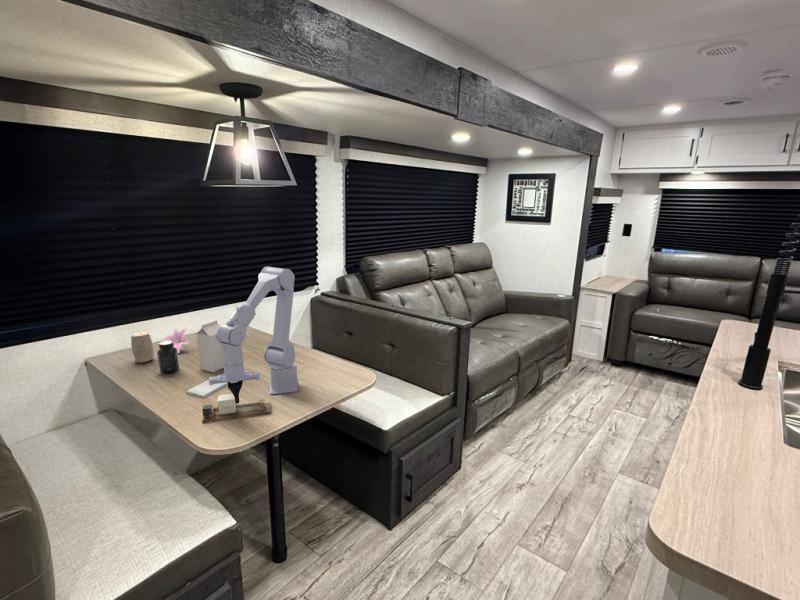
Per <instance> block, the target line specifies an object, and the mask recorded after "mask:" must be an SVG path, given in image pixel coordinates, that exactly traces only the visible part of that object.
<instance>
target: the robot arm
mask: <svg viewBox="0 0 800 600" xmlns="http://www.w3.org/2000/svg"><path fill="white" fill-rule="evenodd" d="M257 277H258V282H257V283H256V285H255V286H254V288H253V289H252V292H251V293H250V295H249V296H248V298H247V299H246V302H245V303H242V304H239V305H238V306H237V307H236V308H235V311H234V312H233V313H232V315H231V316H230V318H229V319H228V320H227V322H226V323H224V324H223V325H221V326H220V328H219V329H218V331H217V335H216V339H217V340H218V341H219V342H220V347H221V348H222V356H223V365H224V368H223V371H224V373H223V374H218V375H215V376H210V377H209V378H208V380H209V384H210V385H214V384H218V383H226V382H228V385H227V388H228V390H230V393H231V394H233V395H234V397H235V402H236V404H237V405H239V404H240V395H239V394H240V391H241V389H242V387H243V385H244V384H243V382H244V381H250V380H252V381H253V380H256V381H258V380H260V379H261V378H260V371H245V366H244V365H245V364H244V359H243V358H244V357H243V346H242V343H243V341H245V339H246V333H247V330H248V329H247V328H248V327H249V326H250V324H251V323H252V321H253V319H254V318H255V316H256V315H257V313H256V308H257V307H258V306H259V305H260V303H261V302H262V301H263V300H264V299H265V298H266V296H267V295H268V294H269V292H274V293H275V294H276V295H277V296H276V303H275V312H274V323H273V333H272V339H271V340H269V341H267V343H266V348H265V350H264V353H263V360H264V361H265V362H266V363H267V366H268V367H269V377H270V384H269V395H277V394H278V395H279V394H285V393H286V394H287V393H296V392H298V391H299V389H298V388H299V386H298V384H299V378H298V368H297V364H296V363H295V361H296V352H295V345H294V343H292V342H291V341H290V333H291V332H290V330H291V323H292V321H291V320H292V312H293V311H292V310H293V303H294V302H293V301H294V292H295V290H294V288H295V287H294V286H295V278H296V277H295V274H294V272H293V271H292V270H291V269H290V268H280V267H273V266H265V267H263V268H262V269H261V272H260V273H258V276H257Z"/></svg>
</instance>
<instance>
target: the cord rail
mask: <svg viewBox="0 0 800 600" xmlns="http://www.w3.org/2000/svg"><path fill="white" fill-rule="evenodd" d="M236 408H237V411H236V413H230V414H223V415H219V409H218V405H216V407H215V405H213V404H205V405H203V406H202V418H201V419H202V420H201V423H202V422H204V423H211V422H210V421H212V422H218V421H225V420H231V419H233V420H234V419H239V418H241V419H242V418H249V417H256V416H262V415H269V414H270V415H271V413H272V412H271V408H272V407H271V402H265V399H259V402H251V403H250V402H249V403H243V404H237V405H236Z"/></svg>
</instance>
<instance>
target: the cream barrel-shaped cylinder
mask: <svg viewBox="0 0 800 600" xmlns="http://www.w3.org/2000/svg"><path fill="white" fill-rule="evenodd" d="M152 340H153V339H152V338H151V335H150V333H149V332H146V331H138V332H134V333H133V334H131V336H130V345H131V351H132V355H133V357H134V359H135V362H137V363H138V362H139V363H140V364H141V363H147V362H149V361H151V360H153V358H154V357H155V351H154V346H153V341H152Z"/></svg>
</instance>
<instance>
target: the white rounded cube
mask: <svg viewBox="0 0 800 600" xmlns="http://www.w3.org/2000/svg"><path fill="white" fill-rule="evenodd" d="M236 405H238V404H236V402H235V397H234V395H233V393H227V394H219V395H218V397H217V406H218V409H219V415H223V414H230V413H236V411H237V408H236Z"/></svg>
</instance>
